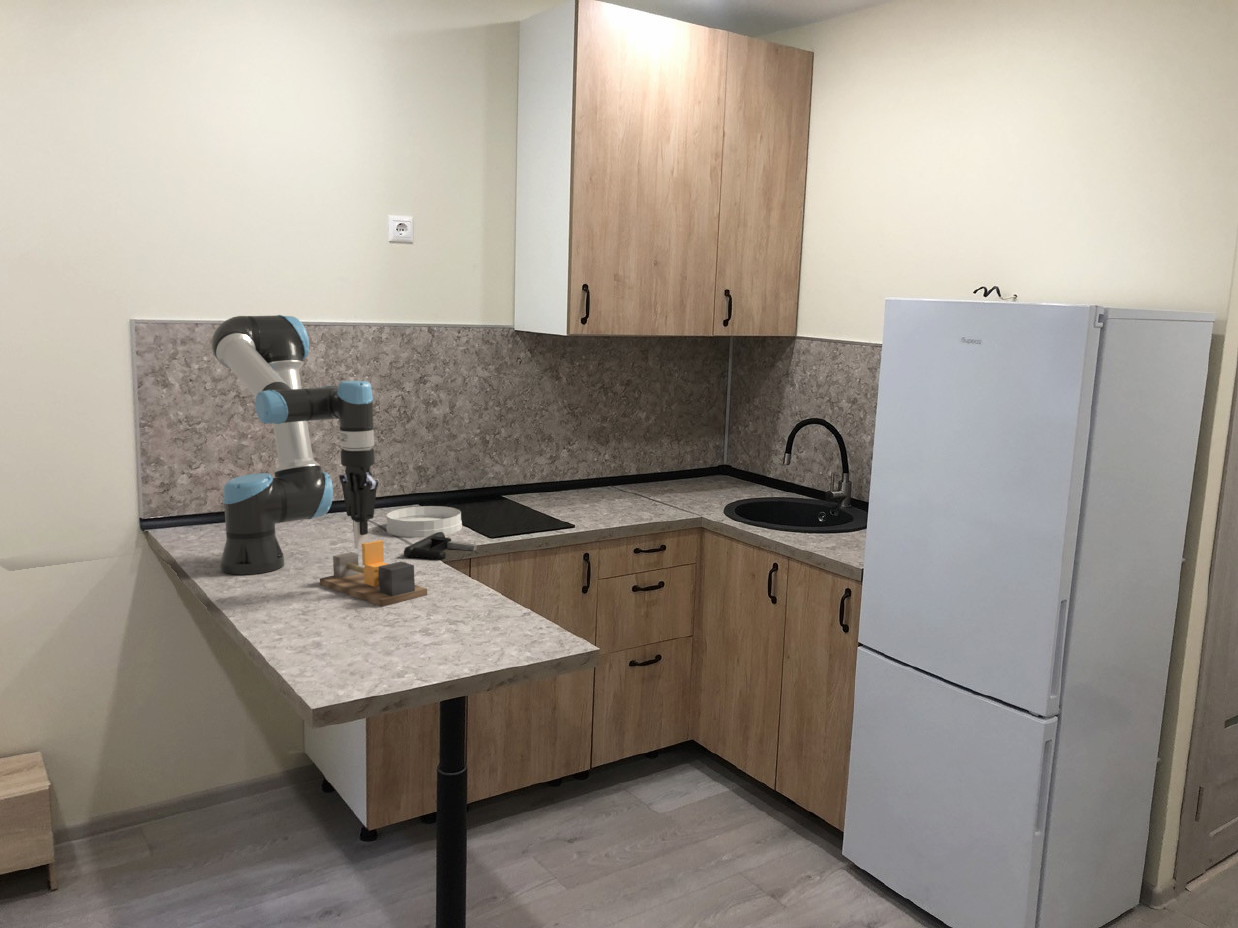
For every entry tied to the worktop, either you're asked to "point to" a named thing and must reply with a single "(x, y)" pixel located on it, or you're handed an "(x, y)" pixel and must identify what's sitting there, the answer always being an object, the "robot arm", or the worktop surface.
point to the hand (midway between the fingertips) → (361, 547)
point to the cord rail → (391, 589)
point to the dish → (423, 521)
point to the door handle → (435, 547)
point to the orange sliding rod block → (372, 561)
